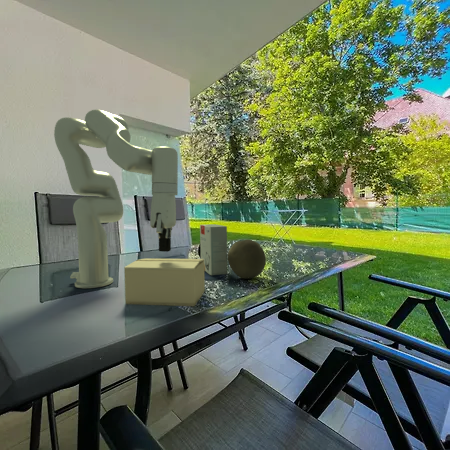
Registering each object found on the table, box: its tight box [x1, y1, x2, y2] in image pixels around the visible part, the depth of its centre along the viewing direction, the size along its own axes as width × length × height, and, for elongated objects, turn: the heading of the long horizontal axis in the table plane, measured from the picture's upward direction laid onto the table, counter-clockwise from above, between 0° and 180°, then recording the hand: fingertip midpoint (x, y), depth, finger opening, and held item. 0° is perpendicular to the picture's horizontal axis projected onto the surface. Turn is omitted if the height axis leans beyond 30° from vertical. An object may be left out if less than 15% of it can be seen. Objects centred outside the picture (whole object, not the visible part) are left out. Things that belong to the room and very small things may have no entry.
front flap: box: [124, 260, 199, 270], centre depth 78 cm, size 20×7×1 cm, turn 83°
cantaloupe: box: [227, 239, 267, 280], centre depth 102 cm, size 14×14×15 cm
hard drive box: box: [199, 223, 228, 276], centre depth 117 cm, size 16×8×20 cm, turn 21°
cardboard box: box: [124, 261, 206, 307], centre depth 82 cm, size 20×14×10 cm
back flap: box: [135, 258, 204, 262], centre depth 85 cm, size 20×7×1 cm, turn 83°
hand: (164, 250), depth 82 cm, fingers closed
